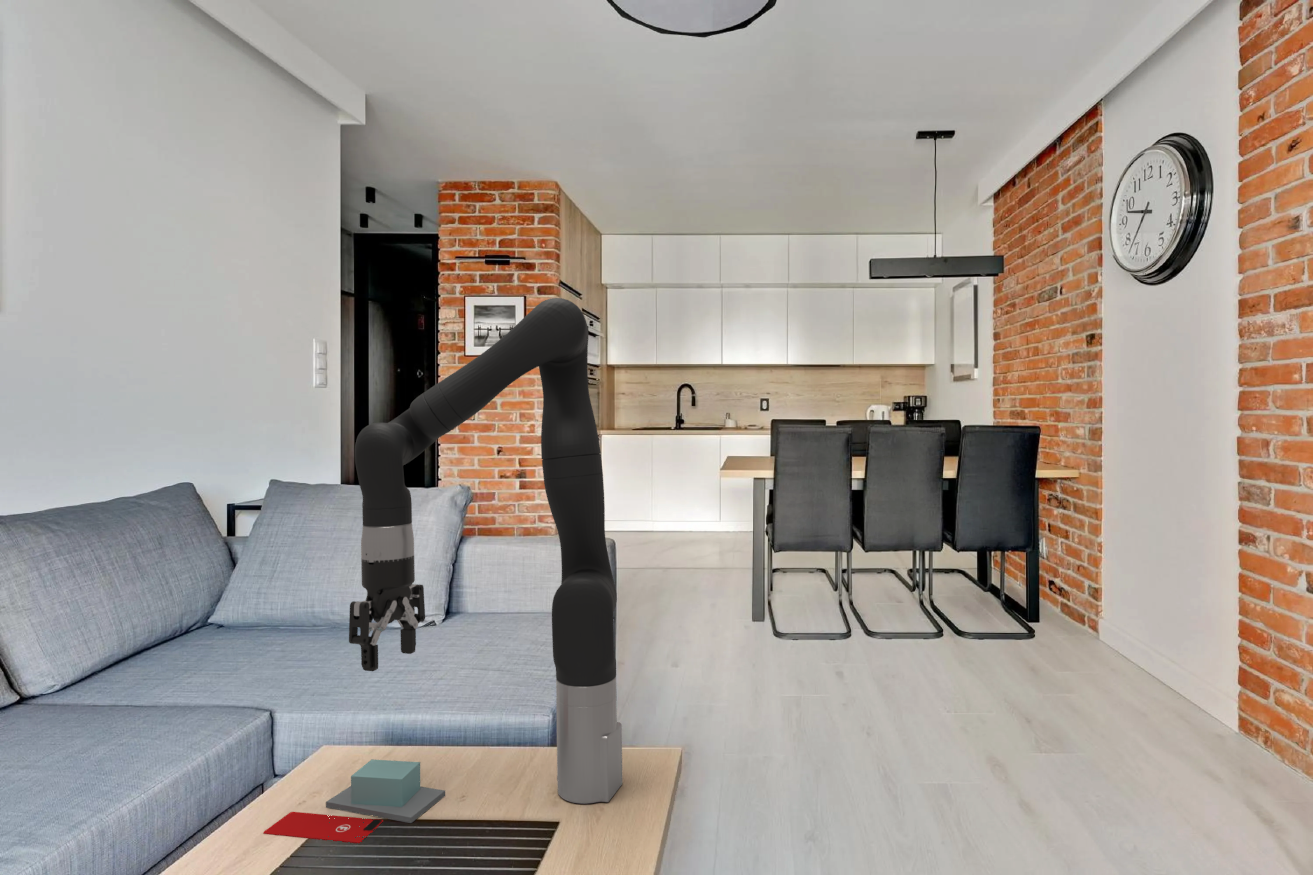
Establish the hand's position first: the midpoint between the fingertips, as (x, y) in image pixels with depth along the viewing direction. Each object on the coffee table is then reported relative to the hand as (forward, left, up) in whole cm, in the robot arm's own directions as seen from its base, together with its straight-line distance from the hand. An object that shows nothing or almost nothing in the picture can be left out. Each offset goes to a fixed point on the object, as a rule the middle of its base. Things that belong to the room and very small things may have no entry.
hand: (389, 661), depth 106 cm
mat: (0, +1, -21) cm, 21 cm away
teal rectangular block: (0, +1, -20) cm, 20 cm away
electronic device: (+4, +10, -21) cm, 23 cm away
